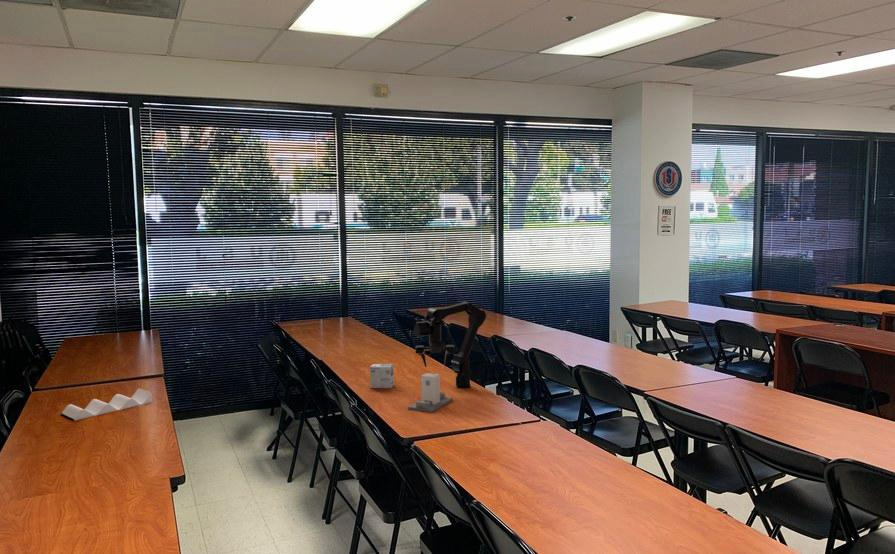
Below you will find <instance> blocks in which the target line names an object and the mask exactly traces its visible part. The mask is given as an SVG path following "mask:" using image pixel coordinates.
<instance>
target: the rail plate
mask: <svg viewBox="0 0 895 554" xmlns="http://www.w3.org/2000/svg"><path fill="white" fill-rule="evenodd" d="M452 400H454V399H453V398H452V397H446V393H445V392H444V391H443V392H441V391H440V402H439V403H437V404H435V405H433V404H432V401H426V402H422V399H419V400H417V401H416V402H415V403H412V404H411V405H408V407H407V410H413V411H419V412H425V411H426V412H427V413H434V412H436V411H437V410H438V409H441V408H443V407H444V406H445V405H447V404H449V403H452V402H453V401H452ZM435 410H436V411H435Z"/></svg>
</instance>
